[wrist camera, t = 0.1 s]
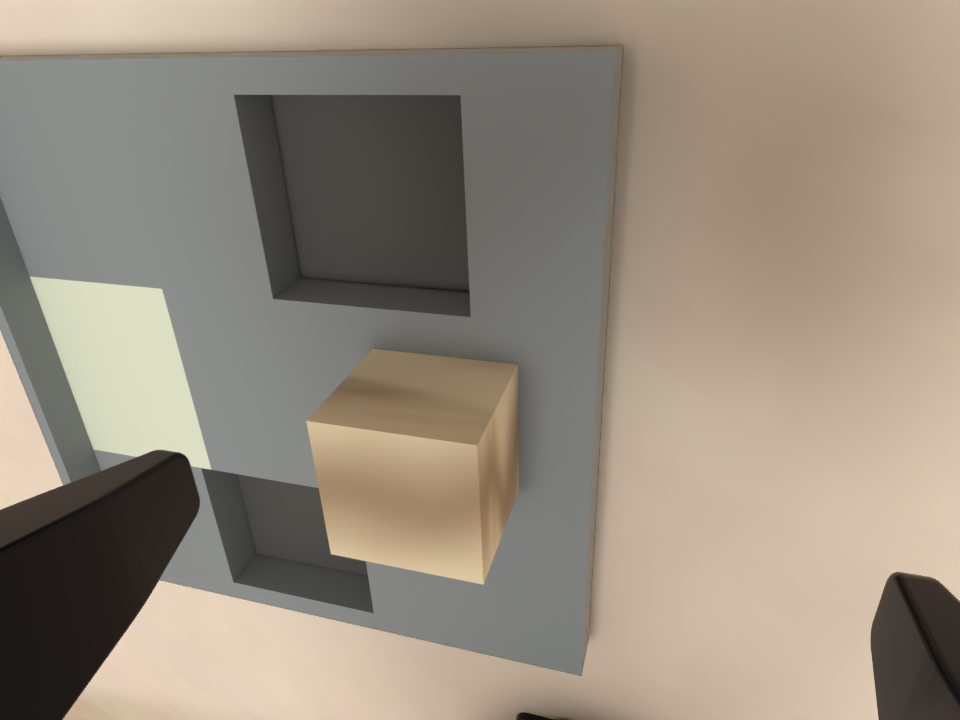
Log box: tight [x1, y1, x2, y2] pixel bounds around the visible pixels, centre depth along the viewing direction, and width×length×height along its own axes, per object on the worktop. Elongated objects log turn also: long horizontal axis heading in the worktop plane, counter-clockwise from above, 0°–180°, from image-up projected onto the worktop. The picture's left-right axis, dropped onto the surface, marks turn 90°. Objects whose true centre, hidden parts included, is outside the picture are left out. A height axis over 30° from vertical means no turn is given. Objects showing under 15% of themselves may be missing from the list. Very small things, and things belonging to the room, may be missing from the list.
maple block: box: [306, 349, 519, 585], centre depth 22 cm, size 5×5×4 cm
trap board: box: [0, 46, 623, 676], centre depth 25 cm, size 22×23×4 cm
